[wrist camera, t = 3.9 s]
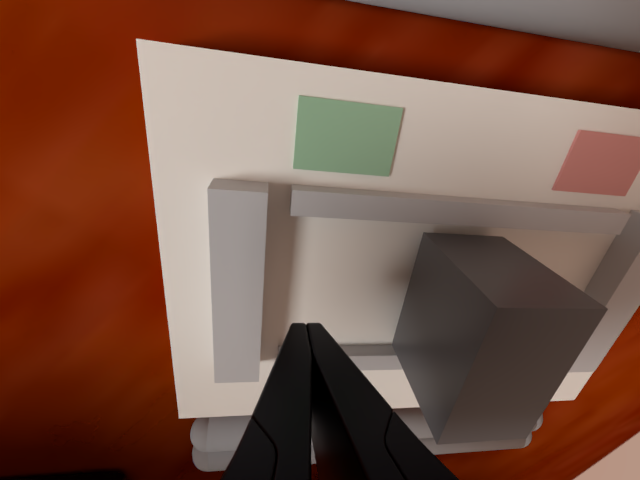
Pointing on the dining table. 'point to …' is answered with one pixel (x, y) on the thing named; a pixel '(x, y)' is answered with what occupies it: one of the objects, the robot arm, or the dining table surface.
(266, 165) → the breaker panel
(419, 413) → the grey twin rods
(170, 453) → the dining table surface
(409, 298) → the switch knob
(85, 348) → the dining table surface
